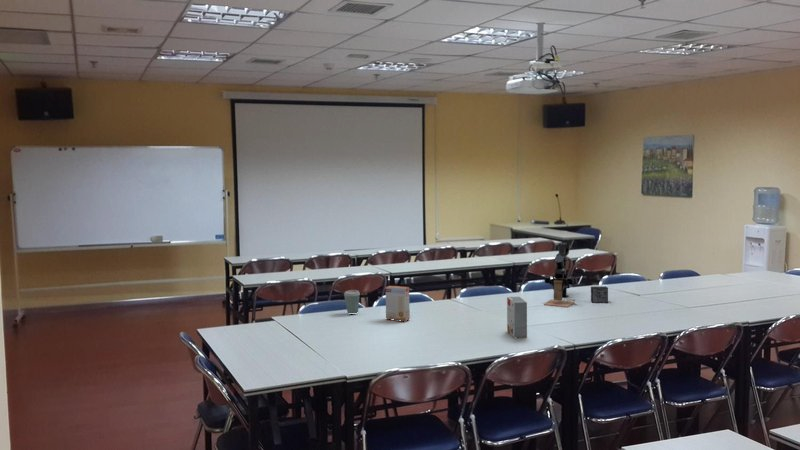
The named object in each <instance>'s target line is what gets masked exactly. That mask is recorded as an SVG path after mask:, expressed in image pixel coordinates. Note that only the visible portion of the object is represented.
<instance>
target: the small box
mask: <svg viewBox="0 0 800 450" xmlns="http://www.w3.org/2000/svg"><path fill="white" fill-rule="evenodd" d="M590 302H591V303H592V304H605V303H606V304H608V303H609V287H607V286H604V285H603V286H590Z"/></svg>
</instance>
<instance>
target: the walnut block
mask: <svg viewBox="0 0 800 450" xmlns="http://www.w3.org/2000/svg"><path fill="white" fill-rule="evenodd" d="M562 283H563V280H554V290H553V300H558V301H561V300H562V301H563V297H562Z"/></svg>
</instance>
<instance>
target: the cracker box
mask: <svg viewBox="0 0 800 450" xmlns="http://www.w3.org/2000/svg"><path fill="white" fill-rule="evenodd" d="M386 318H387V319H394V320H401V321H406V322H408V321H407V320H409V319H410V318H411V315H410V287H409V286H399V285H388V286H385V319H386ZM410 320H411V319H410ZM410 320H409V321H410ZM401 321H400V322H401Z"/></svg>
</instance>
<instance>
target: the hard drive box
mask: <svg viewBox="0 0 800 450" xmlns="http://www.w3.org/2000/svg"><path fill="white" fill-rule="evenodd" d="M506 314H507V315H506V321H507V322H506V324H507V325H506V329H507V330H506V331H507V332H508V334H510V336H511V337H512V338H514V337H526V338H527V337H528V302H527V301H526V300H524V298H522V297H521V296H506Z"/></svg>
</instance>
